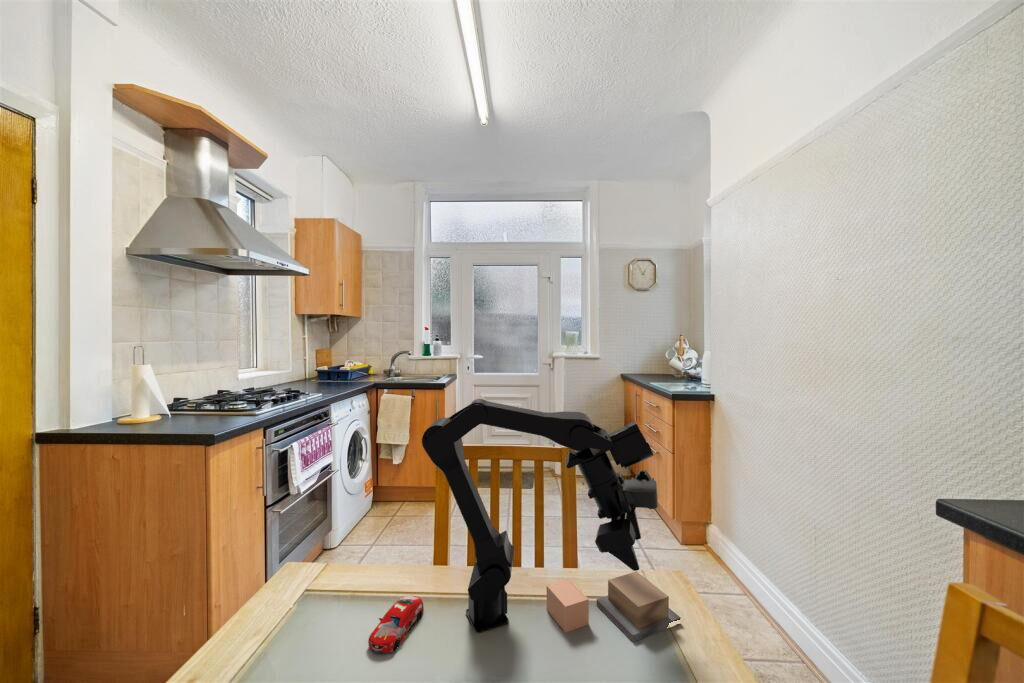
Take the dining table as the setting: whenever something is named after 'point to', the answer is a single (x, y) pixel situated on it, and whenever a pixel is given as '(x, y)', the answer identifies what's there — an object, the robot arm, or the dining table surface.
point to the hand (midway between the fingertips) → (637, 553)
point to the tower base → (629, 625)
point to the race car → (396, 624)
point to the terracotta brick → (567, 605)
